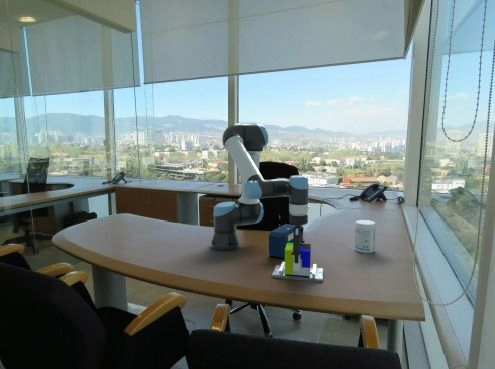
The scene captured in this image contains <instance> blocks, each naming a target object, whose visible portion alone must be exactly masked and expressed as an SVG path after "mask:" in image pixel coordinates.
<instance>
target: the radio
mask: <svg viewBox="0 0 495 369" xmlns="http://www.w3.org/2000/svg"><path fill="white" fill-rule="evenodd" d="M279 218H281V216H280V214H279ZM294 227H295V225H294V224H290V223H289V224H287V223H285V224H283V225H280V226H278V227H277V228H275V229H273V230H271V231H270V232H269V234H268V256H271V257H275V258H280V259H285V248H286V245H287V243H293V240H294V238H293V234H294V233H293V228H294Z"/></svg>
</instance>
